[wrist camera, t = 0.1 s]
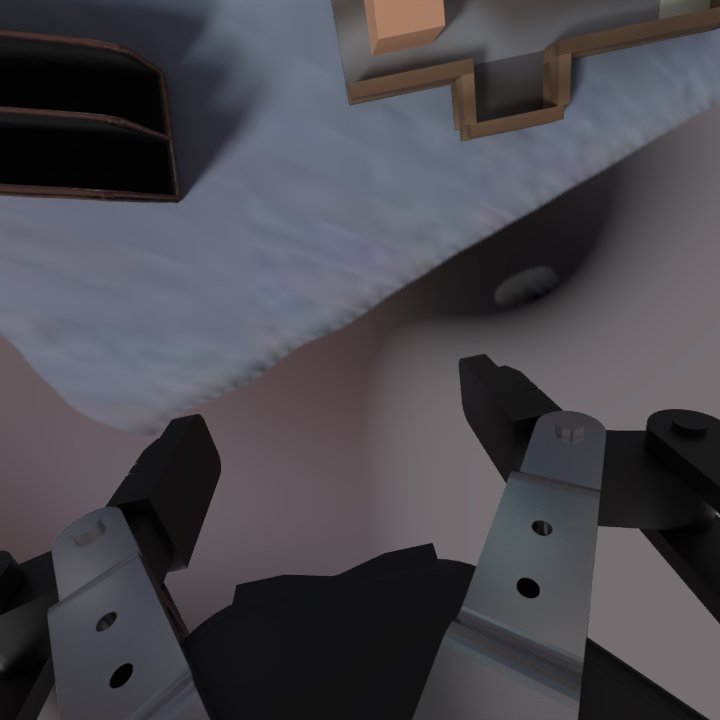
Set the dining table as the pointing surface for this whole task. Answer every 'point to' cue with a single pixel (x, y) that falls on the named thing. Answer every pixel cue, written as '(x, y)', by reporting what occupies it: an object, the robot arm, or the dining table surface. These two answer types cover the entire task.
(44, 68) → the letter holder
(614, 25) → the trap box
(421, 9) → the block
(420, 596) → the robot arm
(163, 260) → the dining table surface
